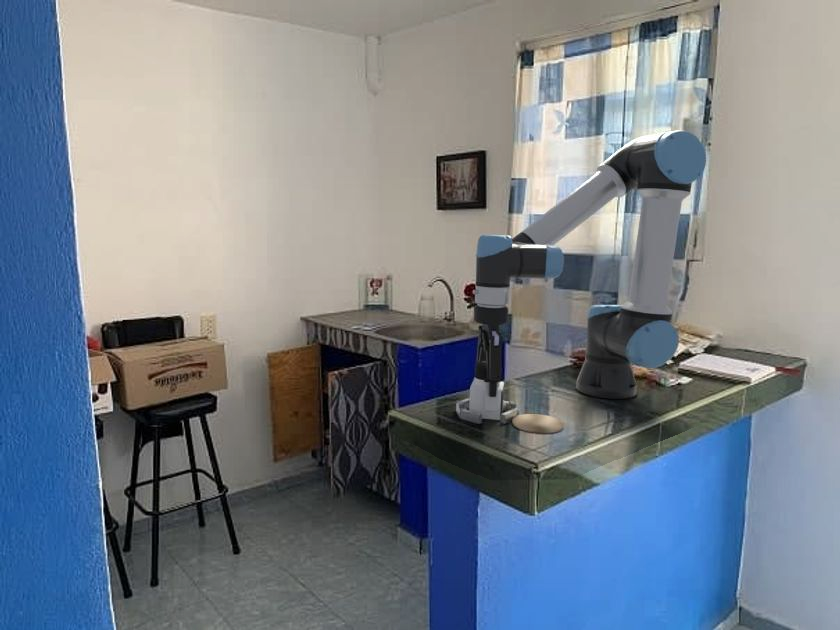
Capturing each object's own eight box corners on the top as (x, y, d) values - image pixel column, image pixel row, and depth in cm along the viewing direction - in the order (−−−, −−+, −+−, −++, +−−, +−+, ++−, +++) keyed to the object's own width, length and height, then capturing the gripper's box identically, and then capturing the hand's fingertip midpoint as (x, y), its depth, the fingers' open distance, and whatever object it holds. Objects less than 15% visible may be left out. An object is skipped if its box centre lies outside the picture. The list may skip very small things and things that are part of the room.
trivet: (554, 416, 142) (554, 413, 142) (570, 433, 131) (570, 430, 131) (507, 416, 141) (507, 414, 140) (519, 433, 130) (519, 430, 130)
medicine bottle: (500, 421, 137) (503, 368, 135) (468, 418, 139) (470, 365, 137) (502, 411, 144) (505, 360, 142) (472, 408, 146) (474, 358, 144)
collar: (507, 405, 149) (507, 394, 148) (521, 423, 136) (521, 411, 136) (453, 405, 147) (453, 394, 147) (462, 423, 135) (463, 411, 134)
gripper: (466, 298, 147) (462, 390, 151) (484, 312, 127) (479, 419, 130) (497, 298, 148) (492, 390, 152) (520, 312, 127) (514, 419, 131)
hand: (486, 403), depth 141 cm, fingers closed on medicine bottle, 8 cm apart
